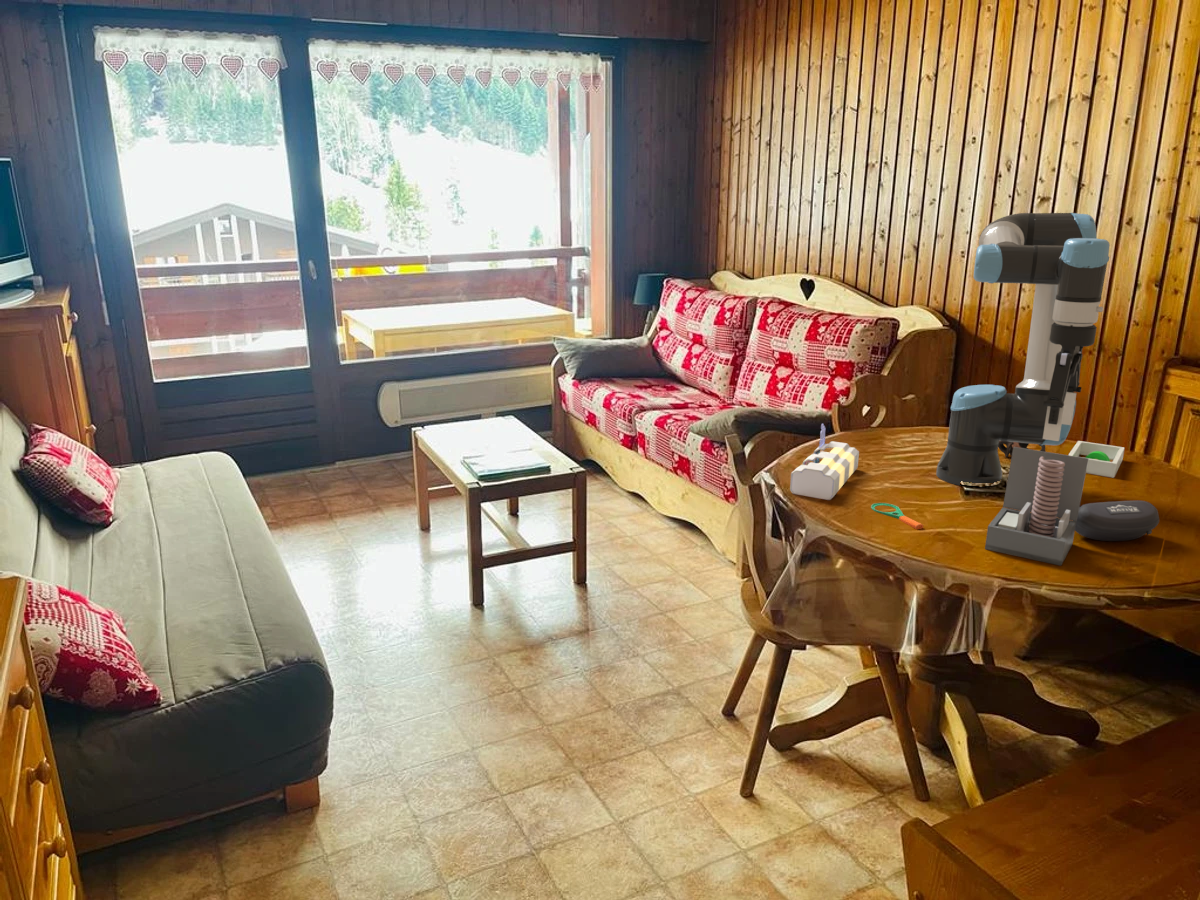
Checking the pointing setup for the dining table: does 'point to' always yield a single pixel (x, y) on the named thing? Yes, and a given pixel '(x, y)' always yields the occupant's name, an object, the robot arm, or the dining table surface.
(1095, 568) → the dining table surface
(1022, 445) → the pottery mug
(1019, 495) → the case
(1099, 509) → the glasses case
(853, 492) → the dining table surface
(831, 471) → the white striped block
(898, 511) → the magnifying glass
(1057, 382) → the robot arm
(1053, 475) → the coil
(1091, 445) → the parts corral
